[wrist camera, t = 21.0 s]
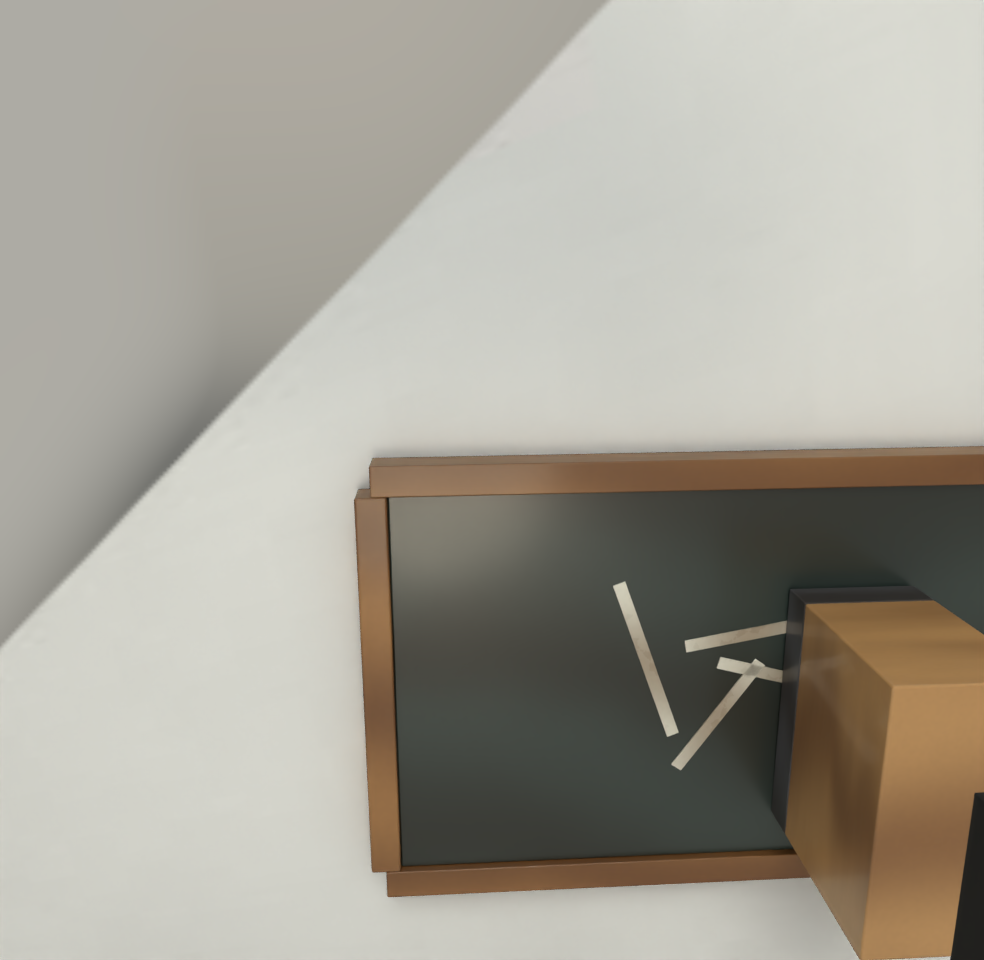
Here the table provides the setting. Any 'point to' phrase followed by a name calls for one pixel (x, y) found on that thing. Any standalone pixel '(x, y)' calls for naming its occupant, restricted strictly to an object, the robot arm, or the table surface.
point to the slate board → (617, 649)
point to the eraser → (881, 760)
